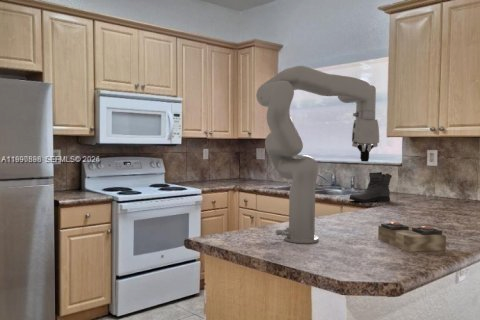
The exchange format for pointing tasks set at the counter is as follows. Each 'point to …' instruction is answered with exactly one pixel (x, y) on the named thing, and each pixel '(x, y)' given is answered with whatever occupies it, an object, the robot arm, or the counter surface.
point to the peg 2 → (426, 228)
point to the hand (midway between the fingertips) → (364, 161)
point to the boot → (375, 189)
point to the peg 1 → (394, 224)
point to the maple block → (412, 237)
